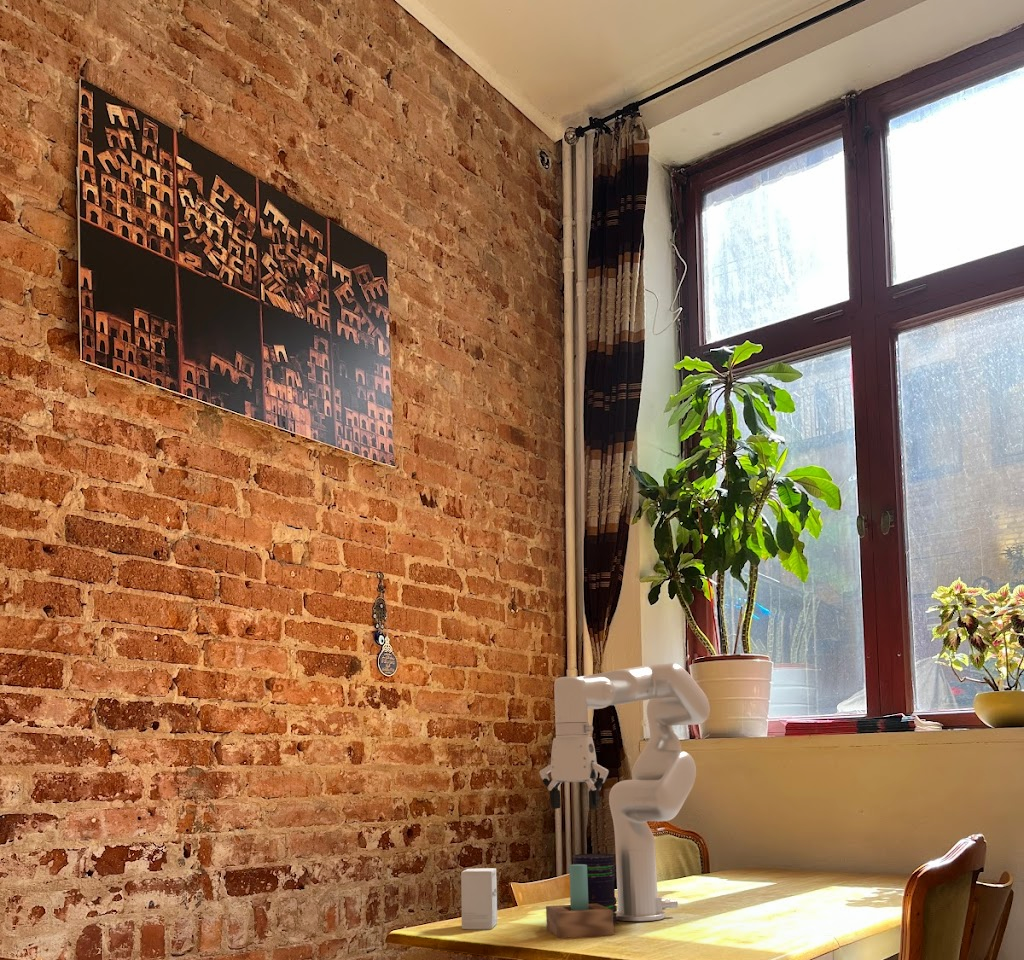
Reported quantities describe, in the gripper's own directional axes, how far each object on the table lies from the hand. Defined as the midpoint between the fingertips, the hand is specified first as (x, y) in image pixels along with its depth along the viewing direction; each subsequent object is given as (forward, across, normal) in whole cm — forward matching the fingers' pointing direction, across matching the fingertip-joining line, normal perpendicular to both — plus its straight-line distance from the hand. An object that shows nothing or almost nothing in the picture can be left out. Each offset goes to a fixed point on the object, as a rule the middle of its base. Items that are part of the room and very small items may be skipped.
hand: (574, 808), depth 255 cm
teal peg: (+26, 0, 0) cm, 26 cm away
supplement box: (+26, +25, +2) cm, 36 cm away
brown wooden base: (+26, 0, 0) cm, 26 cm away
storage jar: (+26, +2, -13) cm, 30 cm away
